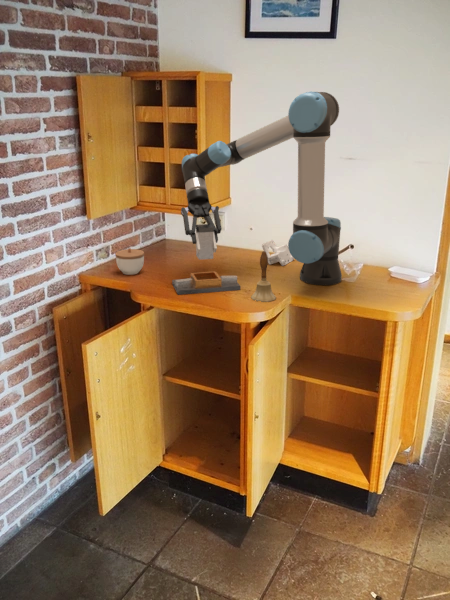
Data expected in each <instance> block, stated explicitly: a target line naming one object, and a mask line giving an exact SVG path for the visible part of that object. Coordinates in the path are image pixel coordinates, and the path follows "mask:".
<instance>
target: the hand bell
mask: <svg viewBox="0 0 450 600" xmlns="http://www.w3.org/2000/svg"><path fill="white" fill-rule="evenodd" d="M259 265H260V269H261V278H260V280H258V282H257V283H256V288H255V291H254V292H253V293H252V295H251V297H250V298H251V300H252V301H255V300H256V301H255V302H258V301H261V302H260V303H267V302H268V303H269V302H272V301H275V300H276V299H277V297H276V295H275V294H274V293H273V291H272V286H271V282H270V281H268V280H267V269H268V266H269V264H268V258H267V254H266V252H265V251H264V250H263V251H261V255H260V258H259Z"/></svg>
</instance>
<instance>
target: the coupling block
mask: <svg viewBox="0 0 450 600" xmlns="http://www.w3.org/2000/svg"><path fill="white" fill-rule="evenodd" d="M195 233H198V238H199V244H200V253H197V250H196V249H195V252H196V253H195V254H196V257H197V259H198V260H213V259H214V252H213V226H212V225H211V224H207V223H206V224H202V223H201V224H196V230H195Z"/></svg>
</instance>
